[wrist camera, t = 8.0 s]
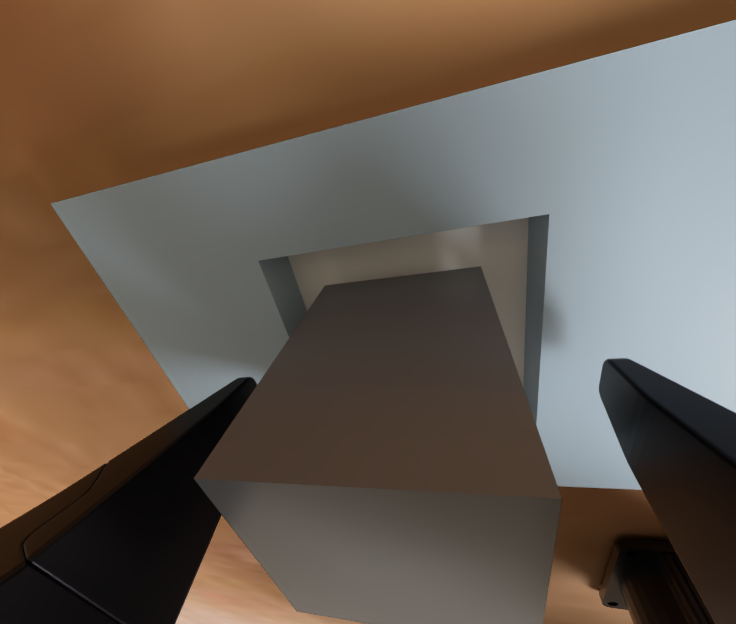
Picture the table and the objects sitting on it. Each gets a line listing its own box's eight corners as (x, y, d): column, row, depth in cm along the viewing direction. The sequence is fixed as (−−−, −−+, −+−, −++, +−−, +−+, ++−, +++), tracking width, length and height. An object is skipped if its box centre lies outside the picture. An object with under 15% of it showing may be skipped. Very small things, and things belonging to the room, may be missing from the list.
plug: (482, 374, 11) (538, 653, 5) (362, 378, 12) (296, 611, 6) (477, 255, 9) (562, 498, 3) (332, 274, 10) (194, 478, 4)
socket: (684, 438, 11) (729, 493, 10) (253, 435, 16) (232, 472, 14) (862, -7, 6) (1048, -64, 4) (113, 191, 10) (50, 203, 9)
